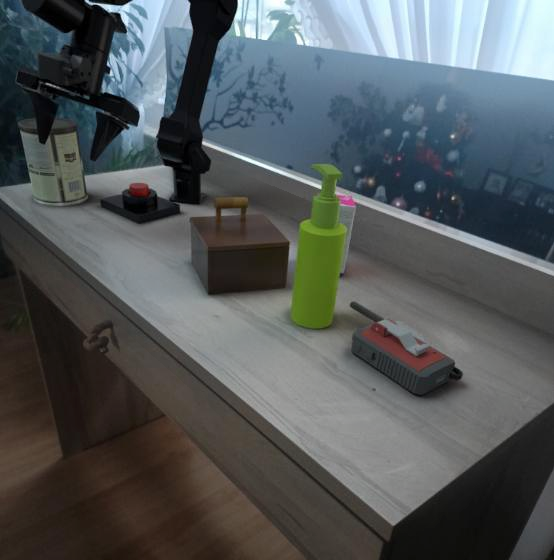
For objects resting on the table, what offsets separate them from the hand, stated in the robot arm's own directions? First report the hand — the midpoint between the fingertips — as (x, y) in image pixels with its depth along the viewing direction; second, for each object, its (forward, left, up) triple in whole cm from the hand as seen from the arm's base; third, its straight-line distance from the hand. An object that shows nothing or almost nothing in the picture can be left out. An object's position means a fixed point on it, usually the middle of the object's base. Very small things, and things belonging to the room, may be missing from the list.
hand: (66, 152), depth 83 cm
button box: (-14, +7, -13) cm, 20 cm away
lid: (+10, +30, -7) cm, 32 cm away
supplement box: (+4, +44, -13) cm, 46 cm away
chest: (+11, +30, -13) cm, 34 cm away
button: (-14, +7, -10) cm, 18 cm away
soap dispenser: (+21, +42, -13) cm, 49 cm away
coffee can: (-16, -10, -13) cm, 23 cm away
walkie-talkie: (+28, +52, -13) cm, 60 cm away
